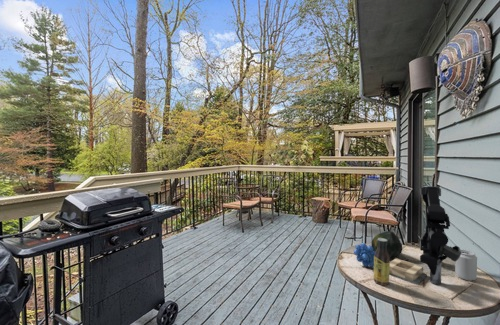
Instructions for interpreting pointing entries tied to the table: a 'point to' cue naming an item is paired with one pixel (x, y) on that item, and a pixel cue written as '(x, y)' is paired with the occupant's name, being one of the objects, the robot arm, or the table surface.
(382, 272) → the sauce bottle
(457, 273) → the can
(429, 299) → the table surface
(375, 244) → the squash
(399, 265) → the socket
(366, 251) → the grapes
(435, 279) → the peg
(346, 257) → the table surface
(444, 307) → the table surface
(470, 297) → the table surface
